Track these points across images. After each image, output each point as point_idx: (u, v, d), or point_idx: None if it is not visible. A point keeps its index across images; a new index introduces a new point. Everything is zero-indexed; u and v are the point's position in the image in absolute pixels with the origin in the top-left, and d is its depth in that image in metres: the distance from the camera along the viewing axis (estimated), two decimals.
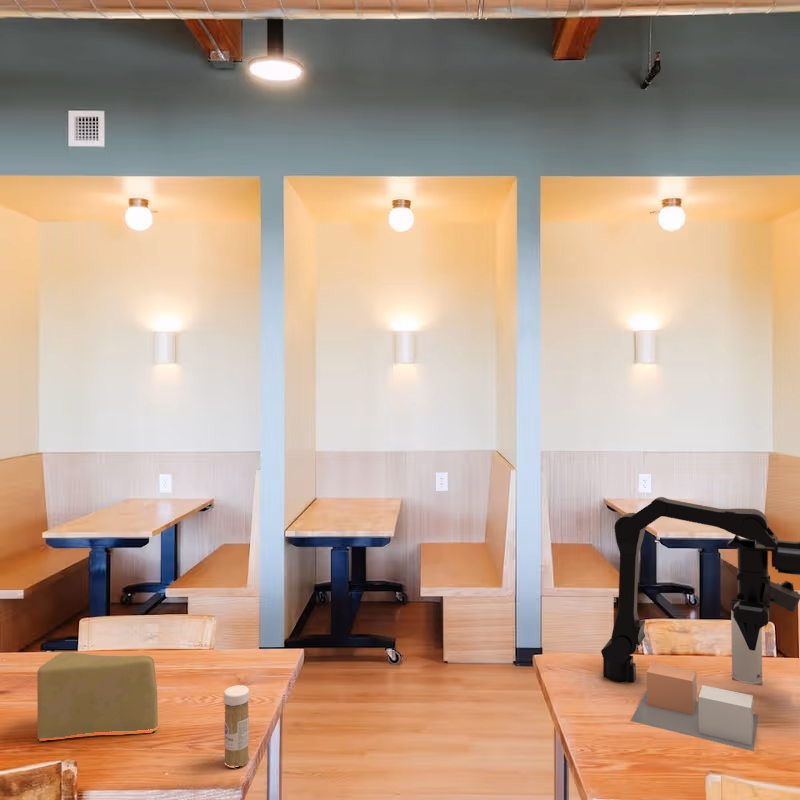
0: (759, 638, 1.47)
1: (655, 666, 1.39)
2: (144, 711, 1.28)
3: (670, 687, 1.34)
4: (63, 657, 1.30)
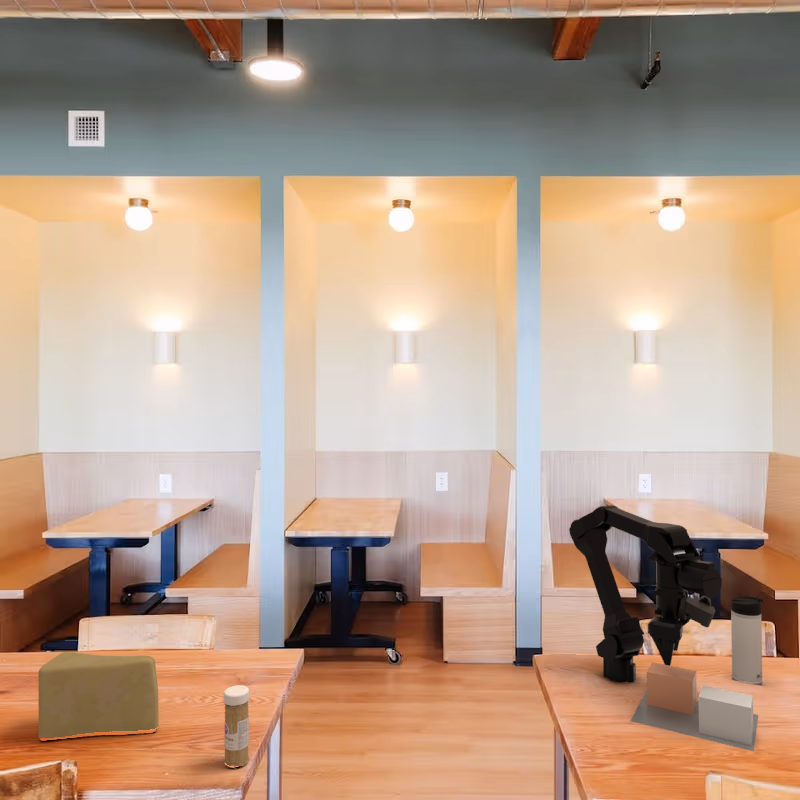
0: (759, 638, 1.47)
1: (655, 666, 1.39)
2: (145, 711, 1.28)
3: (670, 687, 1.34)
4: (64, 657, 1.30)
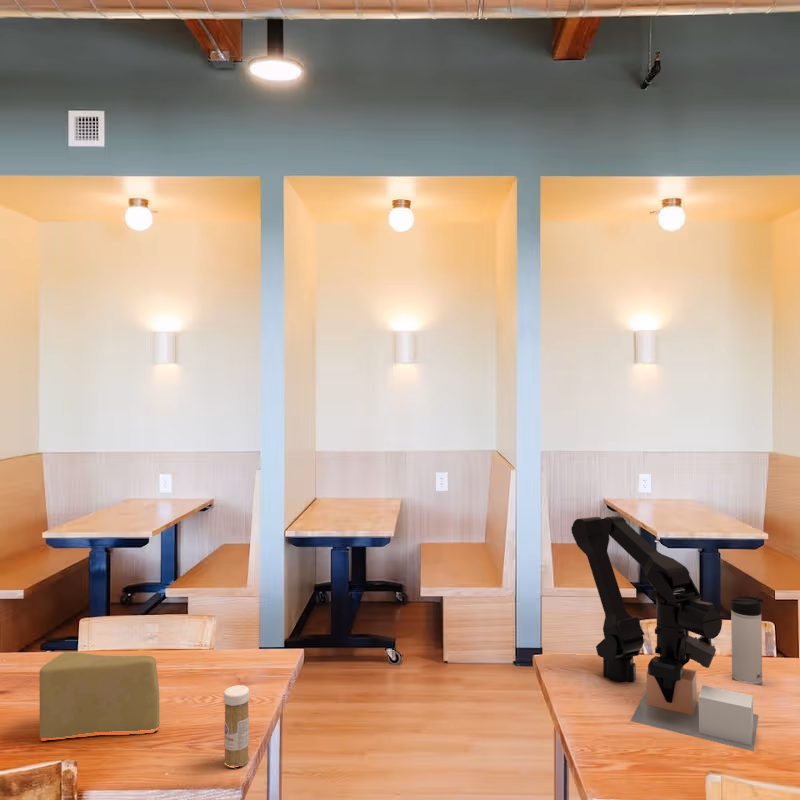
0: (759, 638, 1.47)
1: None
2: (146, 711, 1.28)
3: None
4: (65, 657, 1.30)
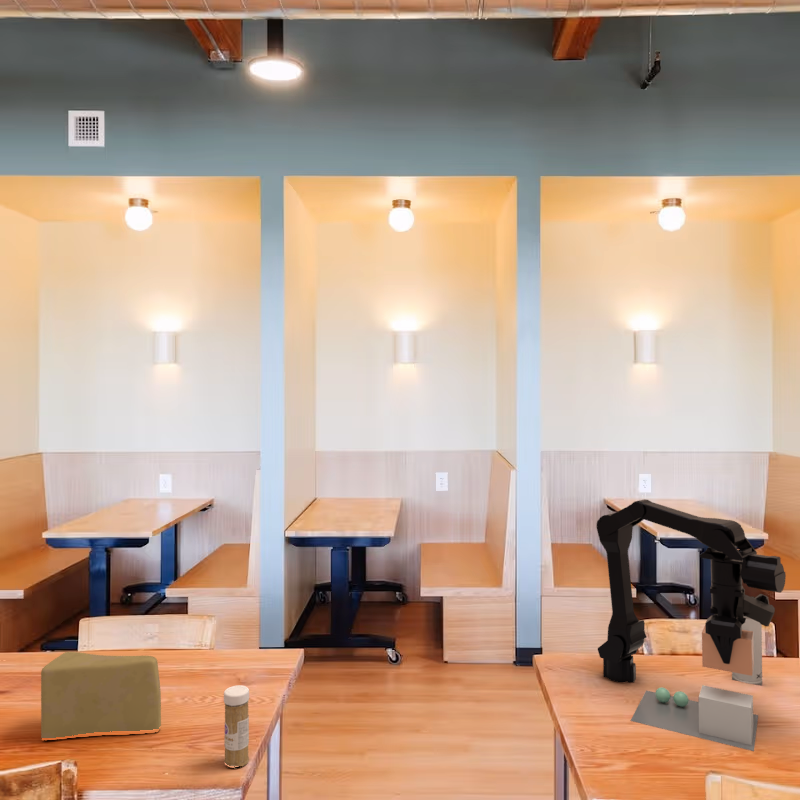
0: (759, 638, 1.47)
1: None
2: (148, 711, 1.28)
3: None
4: (67, 657, 1.30)
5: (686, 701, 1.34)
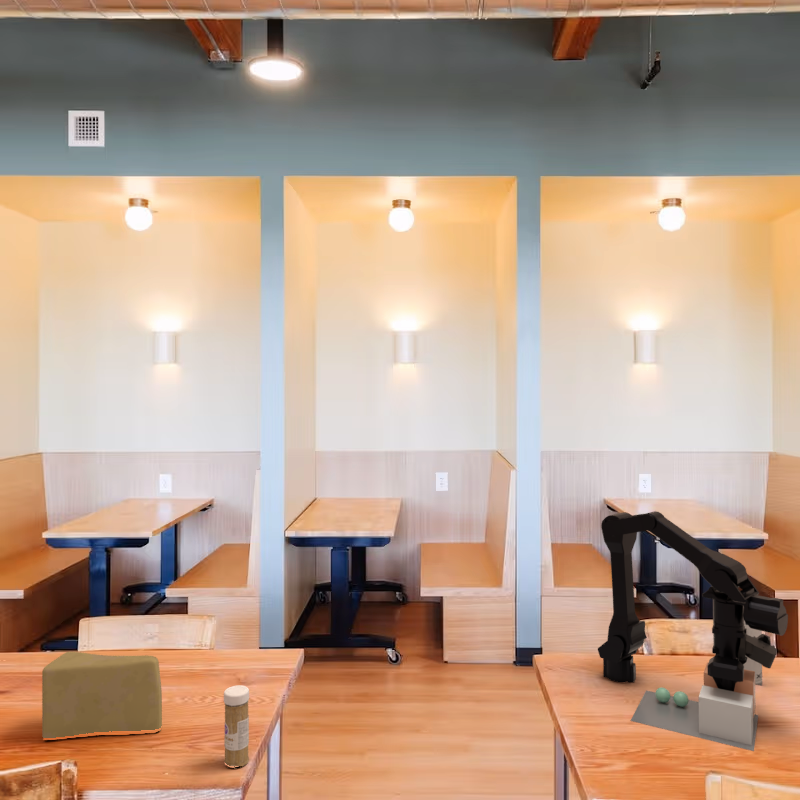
0: None
1: None
2: (149, 711, 1.28)
3: None
4: (68, 657, 1.30)
5: (686, 701, 1.34)
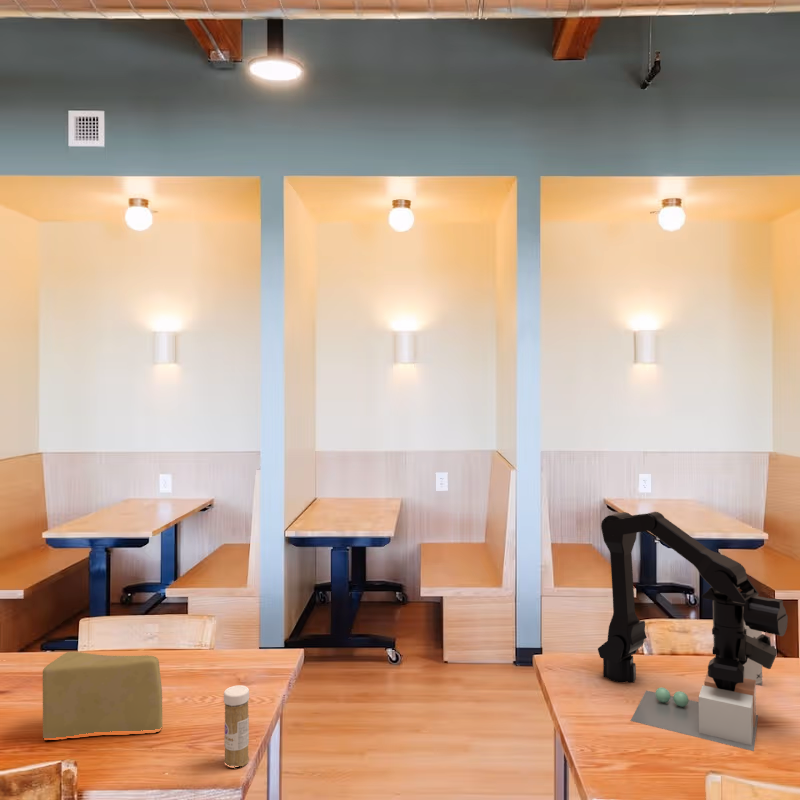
0: None
1: None
2: (149, 711, 1.28)
3: None
4: (68, 657, 1.30)
5: (686, 701, 1.34)
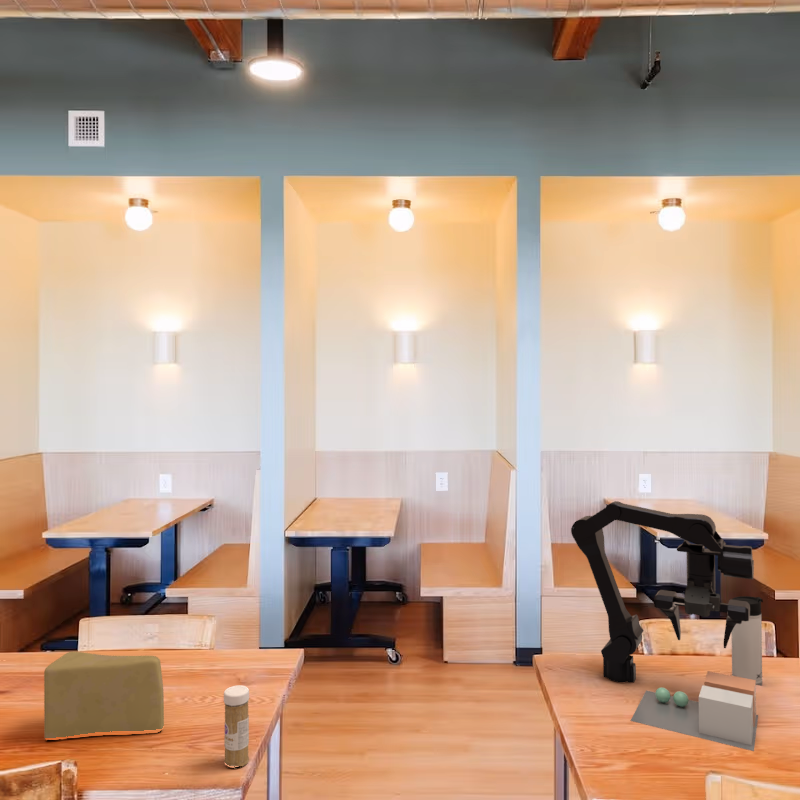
0: (759, 638, 1.47)
1: (712, 675, 1.34)
2: (151, 711, 1.28)
3: None
4: (70, 657, 1.30)
5: (686, 701, 1.34)
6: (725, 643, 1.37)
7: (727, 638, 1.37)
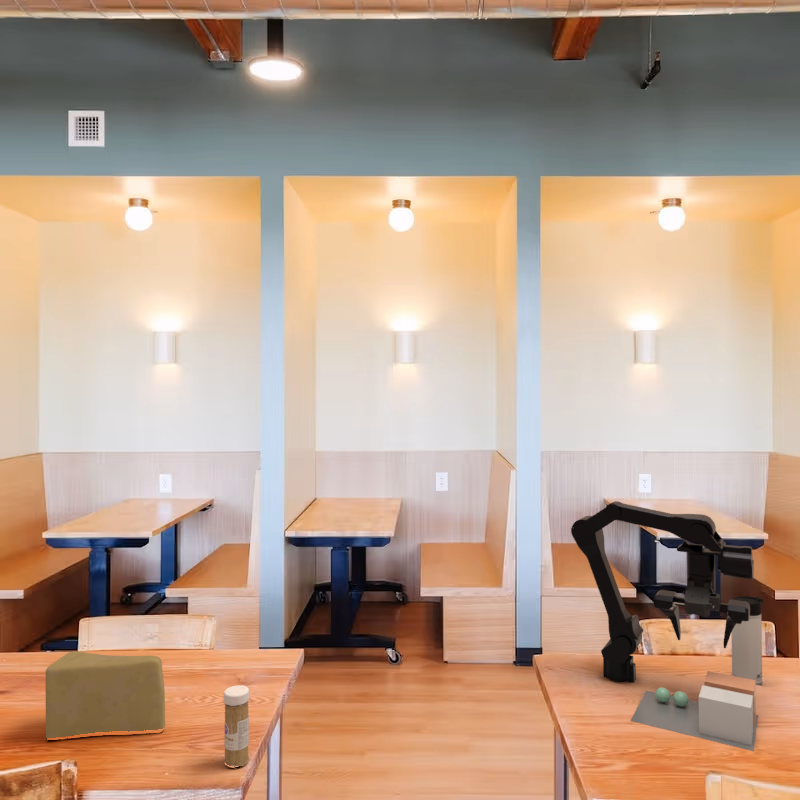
0: (759, 638, 1.47)
1: (712, 675, 1.34)
2: (152, 711, 1.28)
3: None
4: (71, 657, 1.30)
5: (686, 701, 1.34)
6: (725, 643, 1.37)
7: (727, 638, 1.37)
